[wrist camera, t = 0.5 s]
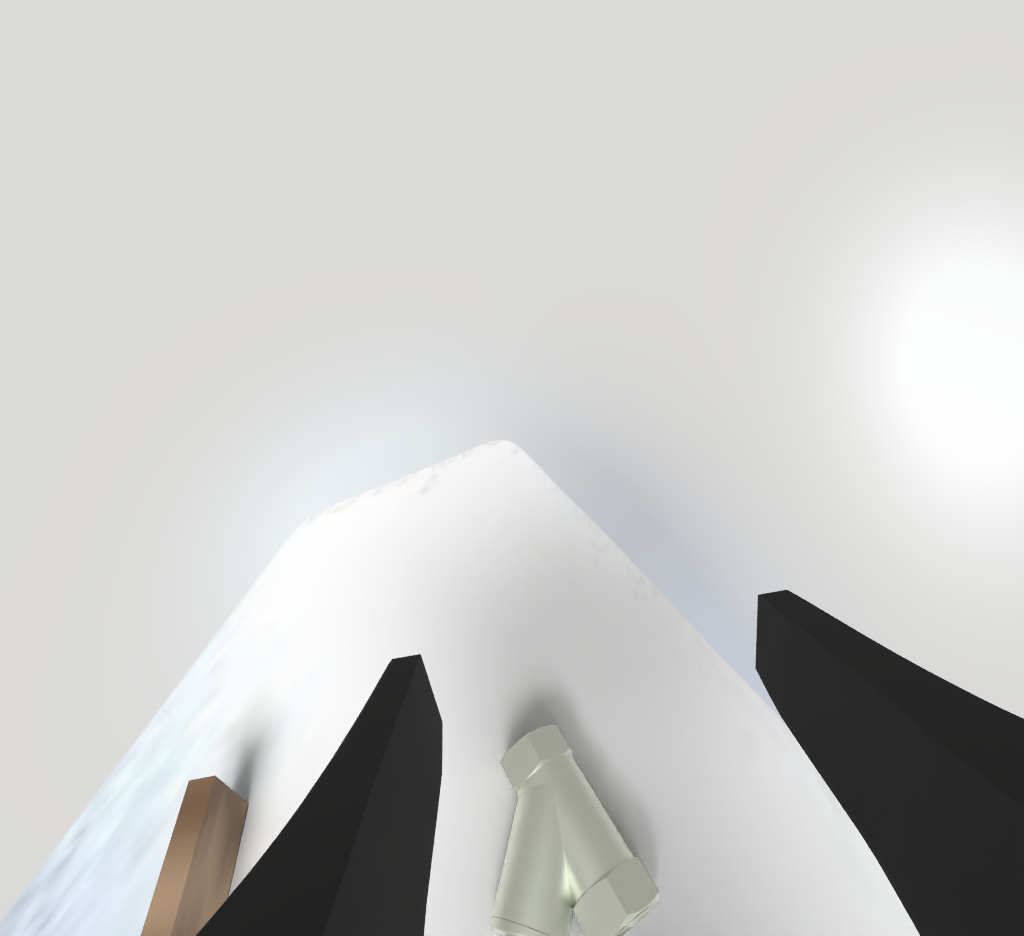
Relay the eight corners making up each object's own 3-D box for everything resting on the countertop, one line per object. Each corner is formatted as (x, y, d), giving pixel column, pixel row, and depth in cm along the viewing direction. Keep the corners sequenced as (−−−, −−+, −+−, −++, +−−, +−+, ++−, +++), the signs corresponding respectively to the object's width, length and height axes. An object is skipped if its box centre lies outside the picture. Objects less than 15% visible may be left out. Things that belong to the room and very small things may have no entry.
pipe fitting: (529, 1016, 20) (657, 906, 22) (517, 1015, 18) (663, 890, 20) (450, 817, 26) (558, 742, 28) (433, 794, 23) (553, 714, 25)
